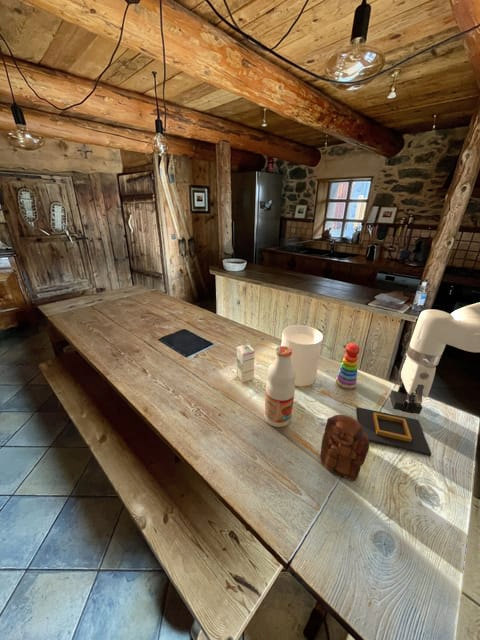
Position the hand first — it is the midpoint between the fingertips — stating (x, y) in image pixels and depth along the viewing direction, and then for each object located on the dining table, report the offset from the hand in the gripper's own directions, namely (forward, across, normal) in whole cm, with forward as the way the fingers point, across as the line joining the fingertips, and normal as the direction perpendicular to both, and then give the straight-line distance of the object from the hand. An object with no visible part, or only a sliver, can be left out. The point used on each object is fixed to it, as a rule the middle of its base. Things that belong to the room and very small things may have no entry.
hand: (404, 404), depth 80 cm
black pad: (0, 0, 0) cm, 0 cm away
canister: (+14, +24, +33) cm, 43 cm away
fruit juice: (+14, -3, +37) cm, 40 cm away
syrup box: (+14, +15, +54) cm, 58 cm away
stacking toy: (+14, +24, +13) cm, 31 cm away
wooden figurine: (+14, -16, +17) cm, 28 cm away
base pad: (+14, +3, 0) cm, 14 cm away
